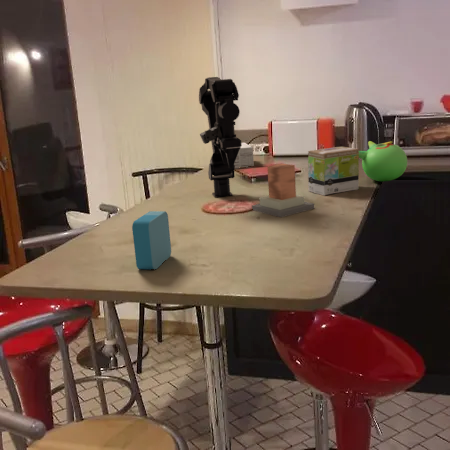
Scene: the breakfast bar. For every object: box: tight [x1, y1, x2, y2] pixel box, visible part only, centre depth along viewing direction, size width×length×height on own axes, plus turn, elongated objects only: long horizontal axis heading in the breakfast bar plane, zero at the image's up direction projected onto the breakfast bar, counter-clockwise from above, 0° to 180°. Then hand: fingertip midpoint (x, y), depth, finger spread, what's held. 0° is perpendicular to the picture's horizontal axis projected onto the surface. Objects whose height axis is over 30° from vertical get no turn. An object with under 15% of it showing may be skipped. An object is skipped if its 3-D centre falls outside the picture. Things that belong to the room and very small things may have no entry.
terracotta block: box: [266, 163, 297, 200], centre depth 188 cm, size 6×6×10 cm
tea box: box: [307, 146, 360, 196], centre depth 210 cm, size 15×10×15 cm
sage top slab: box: [259, 194, 305, 210], centre depth 190 cm, size 10×10×2 cm
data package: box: [131, 210, 172, 270], centre depth 146 cm, size 12×4×12 cm, turn 164°
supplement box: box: [234, 142, 255, 169], centre depth 277 cm, size 17×13×9 cm
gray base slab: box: [251, 201, 315, 218], centre depth 191 cm, size 14×14×2 cm
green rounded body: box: [359, 140, 408, 183], centre depth 220 cm, size 18×17×15 cm
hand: (228, 166), depth 199 cm, fingers open, 9 cm apart
